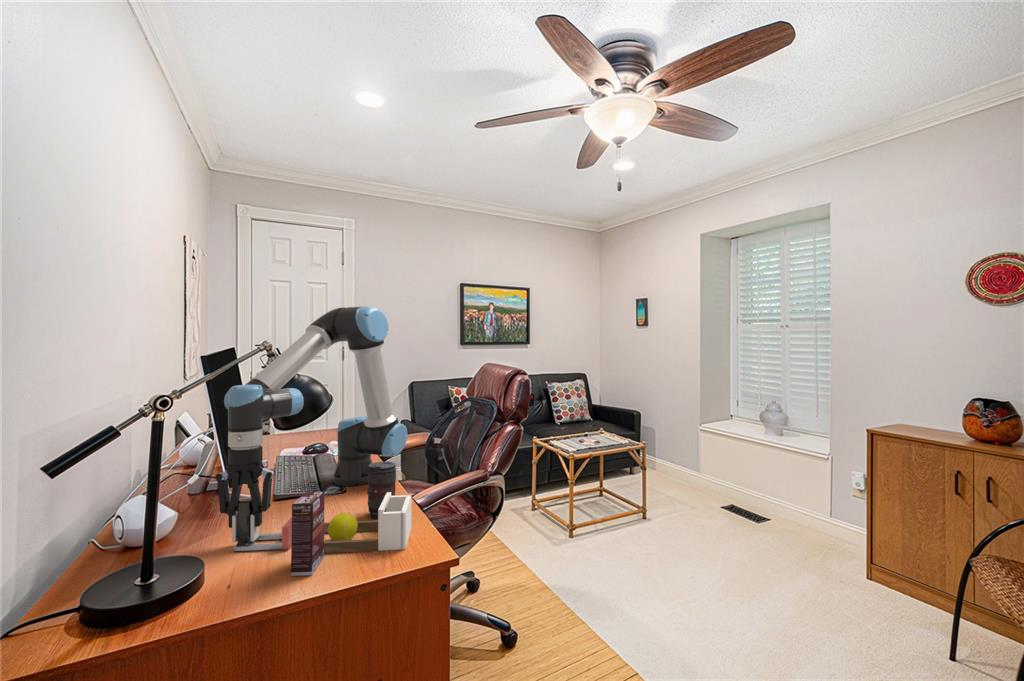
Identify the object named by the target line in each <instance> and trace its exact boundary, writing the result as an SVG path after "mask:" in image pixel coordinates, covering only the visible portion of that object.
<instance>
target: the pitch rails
mask: <svg viewBox="0 0 1024 681" xmlns="http://www.w3.org/2000/svg"><path fill="white" fill-rule="evenodd" d="M329 523H330V521H329V522H324V534H329V533H328V527H329ZM357 523H358V528H357V532H356V533H360V532H378V519H376V520H375V519H374V520H357ZM375 551H376V552H378V538H365V539H350V540H343V541H333V540H327V541H326V540H324V554H333V553H334V554H337V553H338V554H339V553H356V552H357V553H359V552H375Z"/></svg>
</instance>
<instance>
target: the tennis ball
mask: <svg viewBox="0 0 1024 681" xmlns="http://www.w3.org/2000/svg"><path fill="white" fill-rule="evenodd" d="M357 521H358V520H357V518H356V517H355V516H354V515H353V514H352V513H349V512H342V513H341V512H340V513H338V514H335V516H333V517H332V518H331V519H330V521H329V522H330V523H329V522H328V523H329V527H328V533H327V534H328V535H329V538H330V539H331V541H343V540H353V538H354V536H355V535H356V533H358V532H357V528H358V523H357Z"/></svg>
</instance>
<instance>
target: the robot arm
mask: <svg viewBox="0 0 1024 681" xmlns="http://www.w3.org/2000/svg"><path fill="white" fill-rule="evenodd" d="M389 327H390V326H389V322H388V319H387V317H386V314H385V313H384V312H383V311H382V310H380V309H379V308H377V307H374V306H367V305H366V306H364V305H363V306H350V307H345V306H343V307H337V308H333V309H332V310H331V309H330V310H329V311H328V312H326V313H324V314H323V315H321V316H320V317H318V318H317V319H316V320H314V321H313V322H311V323H310V325H308V326H307V327H306V328H305V333H303V335H301V336H300V337H299V338H298V339H297V340H295V342H293V343H292V344H291V345H290V346H288V348H286V350H284V351H283V352H282V353H280V354H279V355H278V356H277V357H276V358H275V359H274V360H273V361H271V362H270V363H269V364H268V365H267V366H265V367H264V368H263V369H262V370H260V372H258V373H257V374H256V375H255V376H253V377H252V378H251V379H250V380H249V381H248V382H246V383H245V384H239V385H233V386H231V387H230V388H229V389H228V390H227V392H226V393H225V395H224V399H223V403H224V407H225V408H226V409H227V428H228V429H227V431H228V432H227V434H228V435H227V446H228V447H229V449H228V450H227V463H228V466H227V468H226V470H225V471H220V472H218V473H217V474H215V475H214V477H215V481H216V482H217V485H218V486H217V487H218V502H219V513H220V514H226V515H227V516H228V529H231V543H237V502H238V501H239V500H241V493H242V488H243V485H247V488H248V489H249V495H250V498H251V501H252V506H253V511H254V513H253V514H252V515H251V541H254V542H256V541H257V540H256V539H257V538H258V537H259V534H260V533H259V530H260V529H259V527H260V526H262V524H263V513H264V512H267V511H268V510H269V509H270V508H271V505H272V504H271V502H272V501H271V500H272V485H273V477H274V475H275V473H276V472H275V469H271V470H269V469H267V468H265V466H264V463H263V460H264V459H263V454H264V453H263V452H264V451H263V446H262V444H263V442H264V441H263V424H264V422H263V421H267V420H270V419H271V420H272V419H276V418H282V417H290V416H292V415H293V416H294V415H297V414H299V413H300V412H301V411H302V410H303V408H304V404H305V403H304V400H305V399H304V396H303V393H302V392H301V391H300V390H299V389H297V388H295V387H294V388H293V387H291V388H289V387H286V388H283V387H284V386H285V385H286V384H287V383H289V381H291V379H293V378H294V376H295V375H297V374H298V373H299V372H300V371H302V369H303V368H304V367H305V366H306V365H308V364H309V363H310V362H311V361H312V360H313V359H314V358H316V356H317V355H318V354H319V353H321V352H322V351H323V350H328V349H330V347H331V346H333V345H334V344H337V343H340V342H347V346H348V350H349V351H350V352H352V353H353V354H354V356H355V362H356V367H357V372H358V377H359V381H360V386H361V391H362V398H363V402H364V407H365V412H366V416H365V415H364V416H357V417H349V418H345V419H341V420H340V421H339V422H338V425H337V431H336V432H337V462H336V465H335V468H334V471H333V475H332V483H333V482H334V483H335V484H334V483H333V484H334V485H336V484H339V485H338V486H340V485H342V486H343V487H352V486H361V485H365V484H368V469H369V465H370V464H371V463H373V460H372V455H373V456H374V455H375V456H383V457H384V458H385V457H396V456H397V455H399V454H400V453H401V452H402V451H403V449H404V448H405V446H406V444H407V441H408V429H407V426H406V425H404V424H403V423H402V422H401V423H400V422H399V417H398V414H396V413H395V412H393V410H392V404H391V399H390V393H389V388H388V382H387V377H386V372H385V366H384V360H383V357H382V356H383V354H382V349H381V348H382V347H383V345H384V344H385V339H386V337H387V336H388V334H389V333H388V332H389ZM261 475H262V479H263V482H262V493H261V492H260V486H259V483H260V481H259V477H260V476H261ZM229 478H230V479H231V480H232V485H231V493H230V489H229V488H230V487H229V480H228V479H229ZM342 486H341V487H342ZM261 495H262V496H261Z"/></svg>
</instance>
